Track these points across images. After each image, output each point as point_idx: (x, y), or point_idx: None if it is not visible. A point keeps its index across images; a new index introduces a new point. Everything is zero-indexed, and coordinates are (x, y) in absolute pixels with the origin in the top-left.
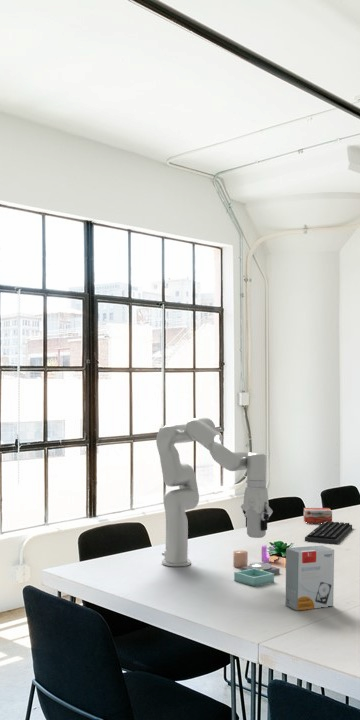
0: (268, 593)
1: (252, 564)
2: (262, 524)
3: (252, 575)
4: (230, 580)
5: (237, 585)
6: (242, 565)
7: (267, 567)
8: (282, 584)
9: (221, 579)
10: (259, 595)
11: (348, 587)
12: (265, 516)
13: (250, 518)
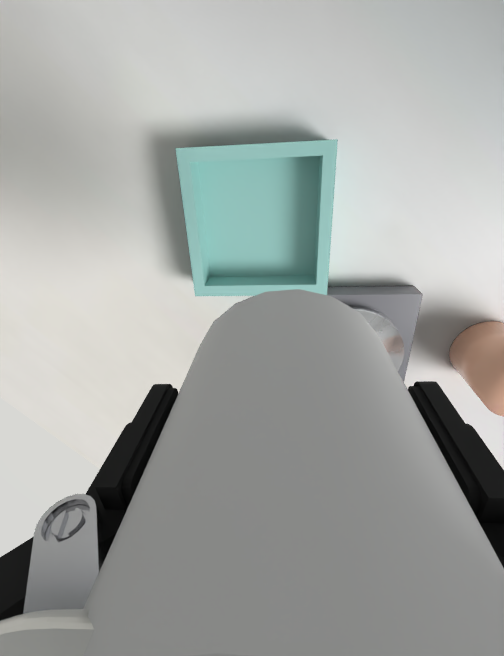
0: (60, 123)
1: (382, 335)
2: (127, 444)
3: (313, 262)
4: (346, 123)
5: (249, 82)
6: (462, 342)
7: None
8: (158, 284)
9: (397, 89)
10: (41, 48)
11: (43, 416)
12: (3, 589)
13: (272, 435)
